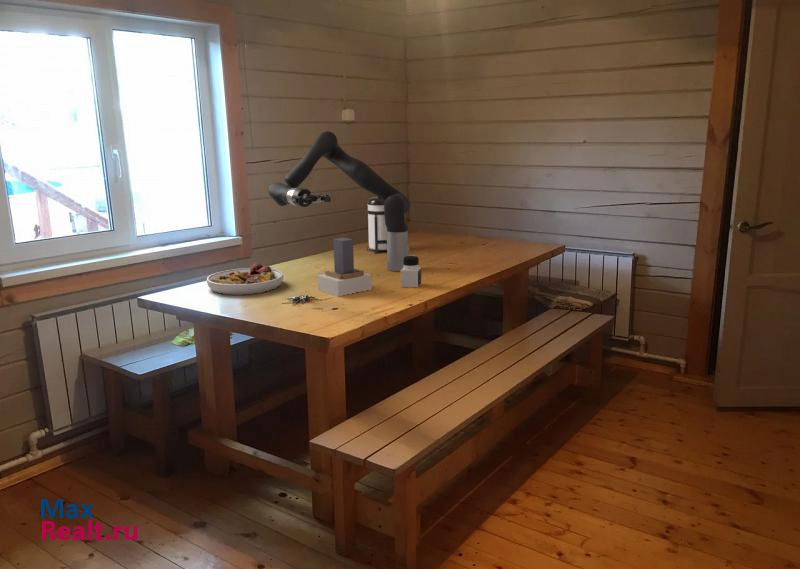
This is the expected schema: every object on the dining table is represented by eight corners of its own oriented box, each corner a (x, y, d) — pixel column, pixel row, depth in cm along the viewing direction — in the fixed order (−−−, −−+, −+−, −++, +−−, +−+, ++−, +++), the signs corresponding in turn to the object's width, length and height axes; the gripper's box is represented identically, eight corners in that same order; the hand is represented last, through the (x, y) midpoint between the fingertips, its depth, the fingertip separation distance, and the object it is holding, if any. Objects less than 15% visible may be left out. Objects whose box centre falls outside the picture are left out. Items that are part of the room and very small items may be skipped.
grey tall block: (345, 272, 266) (344, 237, 263) (354, 274, 262) (353, 239, 259) (334, 274, 263) (333, 239, 260) (343, 276, 259) (342, 241, 256)
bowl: (268, 298, 254) (267, 278, 252) (194, 296, 259) (192, 276, 257) (293, 280, 283) (292, 261, 281) (226, 278, 288) (224, 260, 286)
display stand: (351, 283, 274) (350, 265, 273) (372, 289, 264) (371, 270, 262) (318, 290, 265) (317, 271, 263) (338, 296, 254) (337, 277, 252)
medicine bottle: (418, 287, 266) (418, 258, 263) (400, 287, 267) (400, 257, 264) (421, 283, 273) (421, 254, 270) (404, 283, 274) (403, 254, 271)
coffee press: (360, 253, 337) (358, 193, 330) (373, 247, 351) (372, 189, 344) (391, 255, 330) (390, 194, 323) (404, 249, 345) (403, 190, 338)
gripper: (283, 189, 274) (304, 192, 262) (313, 186, 283) (335, 189, 271) (284, 207, 276) (305, 211, 264) (314, 204, 285) (335, 208, 273)
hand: (320, 200), depth 267 cm, fingers open, 8 cm apart
